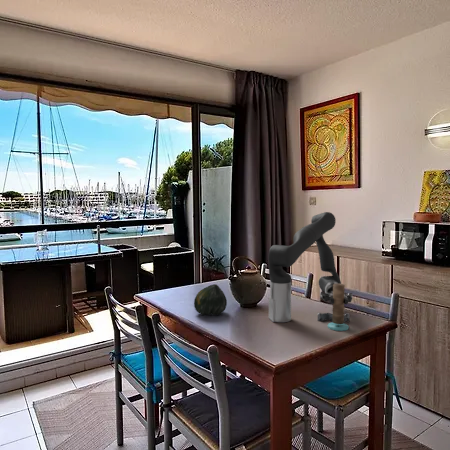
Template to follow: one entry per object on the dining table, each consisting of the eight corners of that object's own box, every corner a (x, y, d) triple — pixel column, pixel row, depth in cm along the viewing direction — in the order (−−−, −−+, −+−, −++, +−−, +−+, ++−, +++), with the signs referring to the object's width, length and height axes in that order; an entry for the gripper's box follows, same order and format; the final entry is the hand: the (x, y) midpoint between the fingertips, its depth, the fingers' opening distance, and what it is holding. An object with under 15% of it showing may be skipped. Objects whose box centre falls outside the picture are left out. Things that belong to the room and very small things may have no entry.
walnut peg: (335, 324, 159) (336, 286, 157) (330, 320, 163) (331, 283, 162) (345, 323, 159) (346, 285, 158) (340, 320, 164) (341, 283, 163)
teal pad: (333, 331, 156) (333, 329, 156) (324, 324, 165) (324, 323, 165) (352, 330, 158) (352, 328, 158) (342, 323, 166) (342, 321, 166)
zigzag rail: (318, 322, 168) (318, 315, 168) (316, 318, 173) (316, 311, 173) (350, 322, 167) (350, 315, 167) (347, 319, 172) (347, 312, 172)
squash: (188, 299, 186) (196, 280, 176) (215, 296, 193) (225, 278, 183) (196, 324, 177) (205, 306, 168) (225, 321, 184) (235, 303, 174)
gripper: (318, 282, 175) (321, 292, 158) (350, 283, 173) (357, 293, 156) (317, 298, 176) (321, 310, 159) (350, 300, 174) (357, 311, 157)
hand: (339, 301), depth 158 cm, fingers closed on walnut peg, 4 cm apart
